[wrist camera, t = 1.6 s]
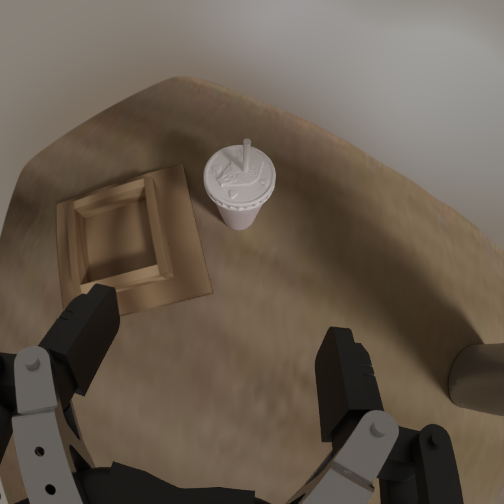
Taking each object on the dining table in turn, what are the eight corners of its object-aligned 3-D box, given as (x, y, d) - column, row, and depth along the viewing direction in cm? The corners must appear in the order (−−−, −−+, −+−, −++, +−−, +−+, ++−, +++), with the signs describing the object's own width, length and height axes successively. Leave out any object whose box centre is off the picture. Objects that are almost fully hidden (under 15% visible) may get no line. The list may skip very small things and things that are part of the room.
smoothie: (276, 225, 34) (300, 159, 21) (227, 251, 33) (221, 196, 20) (248, 182, 36) (255, 103, 22) (201, 205, 34) (183, 132, 21)
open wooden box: (184, 168, 36) (178, 150, 32) (213, 293, 32) (209, 287, 28) (60, 207, 34) (45, 194, 30) (71, 327, 30) (53, 325, 26)
